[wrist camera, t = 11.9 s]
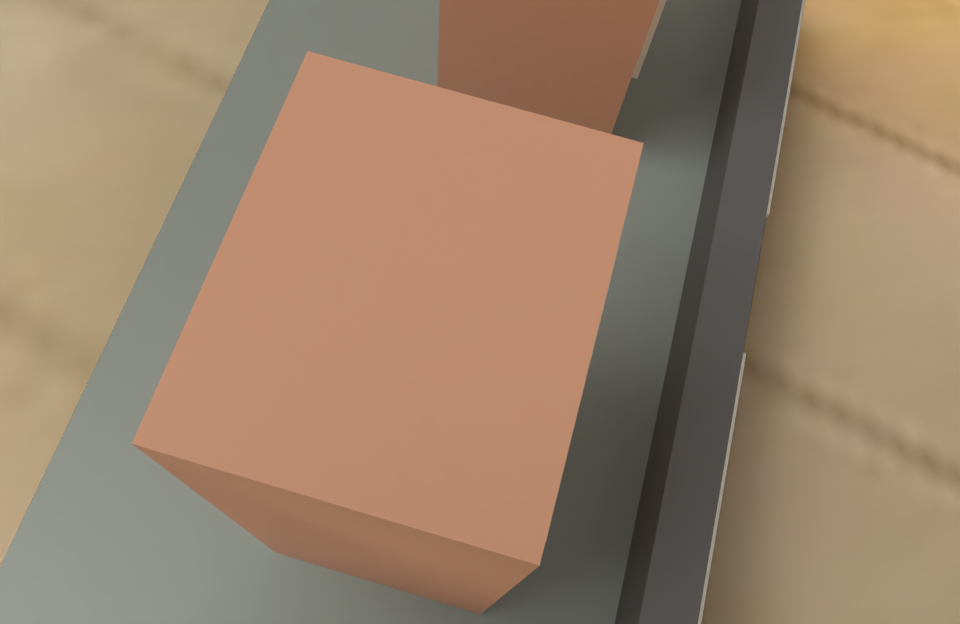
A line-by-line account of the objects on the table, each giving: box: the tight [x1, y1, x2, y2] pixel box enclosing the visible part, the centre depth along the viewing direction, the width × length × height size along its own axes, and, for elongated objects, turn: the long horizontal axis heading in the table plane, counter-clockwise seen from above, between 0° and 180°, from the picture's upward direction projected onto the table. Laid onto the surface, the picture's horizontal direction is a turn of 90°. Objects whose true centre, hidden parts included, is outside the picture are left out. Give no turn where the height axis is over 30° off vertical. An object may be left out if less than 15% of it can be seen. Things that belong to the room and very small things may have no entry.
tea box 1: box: [132, 51, 644, 614], centre depth 16 cm, size 5×6×11 cm
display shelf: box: [0, 0, 805, 624], centre depth 24 cm, size 16×27×6 cm, turn 165°
